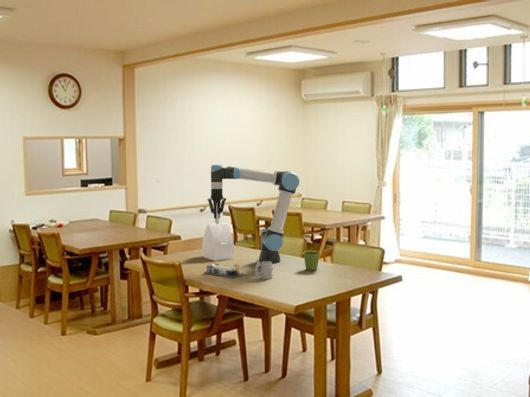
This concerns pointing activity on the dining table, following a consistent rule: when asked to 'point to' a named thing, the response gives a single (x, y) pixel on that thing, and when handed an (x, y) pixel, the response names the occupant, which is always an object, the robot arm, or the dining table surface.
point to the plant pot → (311, 260)
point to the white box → (218, 242)
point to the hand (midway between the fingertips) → (216, 223)
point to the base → (224, 272)
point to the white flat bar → (222, 267)
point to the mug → (264, 269)
